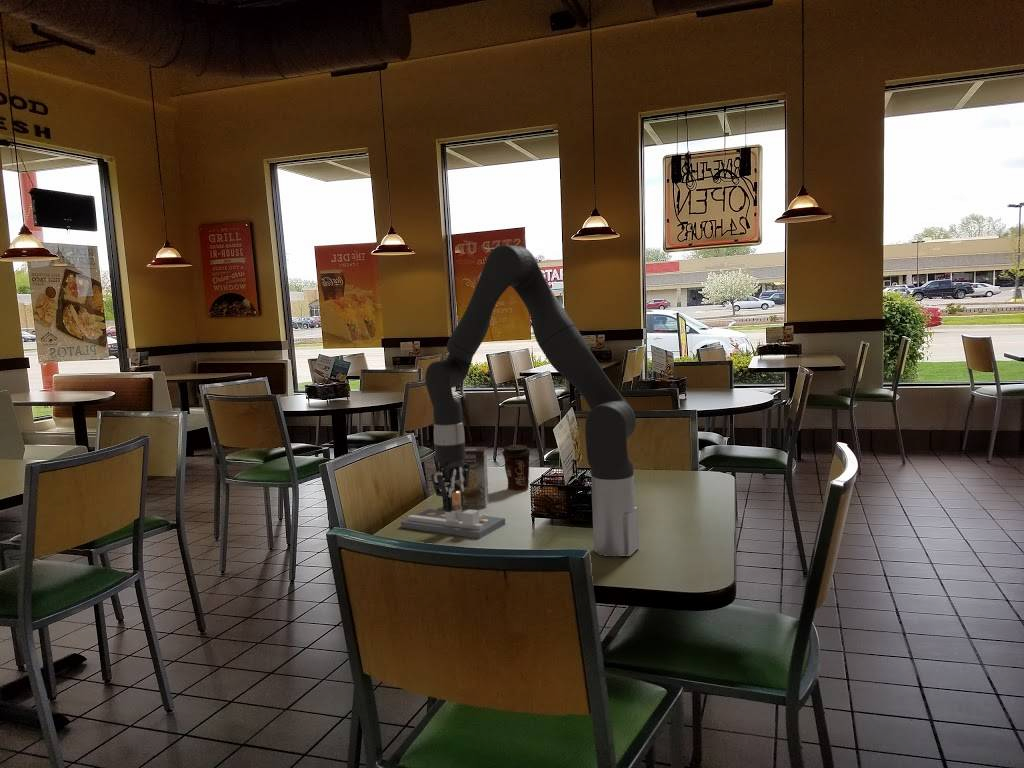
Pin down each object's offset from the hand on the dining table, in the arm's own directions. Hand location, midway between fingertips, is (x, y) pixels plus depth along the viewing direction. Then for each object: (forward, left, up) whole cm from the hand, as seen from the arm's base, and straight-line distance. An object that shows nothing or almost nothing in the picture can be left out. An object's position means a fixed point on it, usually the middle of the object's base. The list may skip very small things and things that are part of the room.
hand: (453, 508), depth 180 cm
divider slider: (0, -2, -3) cm, 4 cm away
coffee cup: (+5, -40, -6) cm, 41 cm away
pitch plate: (+3, -3, -6) cm, 7 cm away
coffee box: (+9, -21, -6) cm, 24 cm away
